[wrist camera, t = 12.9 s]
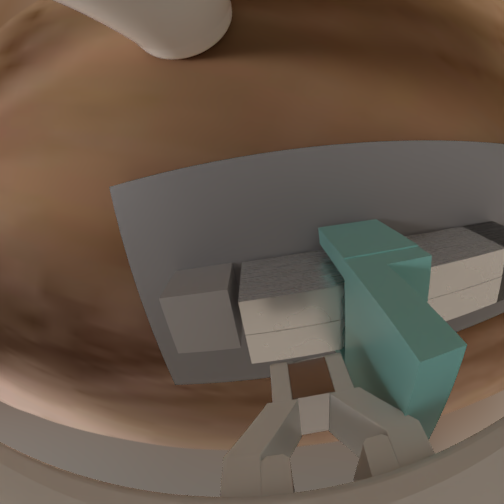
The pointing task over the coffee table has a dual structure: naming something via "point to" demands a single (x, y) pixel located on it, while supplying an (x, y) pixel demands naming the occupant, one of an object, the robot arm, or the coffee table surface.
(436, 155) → the plate
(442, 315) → the jaw
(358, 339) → the collar
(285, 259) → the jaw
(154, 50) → the white cup
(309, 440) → the coffee table surface
